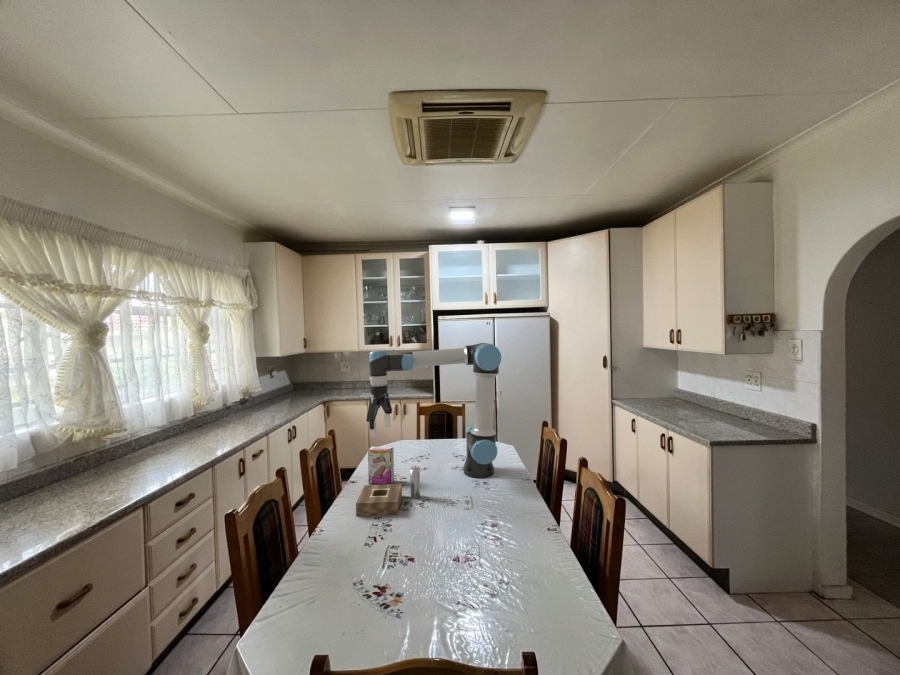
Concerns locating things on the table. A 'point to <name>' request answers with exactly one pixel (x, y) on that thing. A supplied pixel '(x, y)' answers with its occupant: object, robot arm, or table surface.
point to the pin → (415, 483)
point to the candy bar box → (381, 465)
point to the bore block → (379, 500)
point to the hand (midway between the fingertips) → (380, 431)
